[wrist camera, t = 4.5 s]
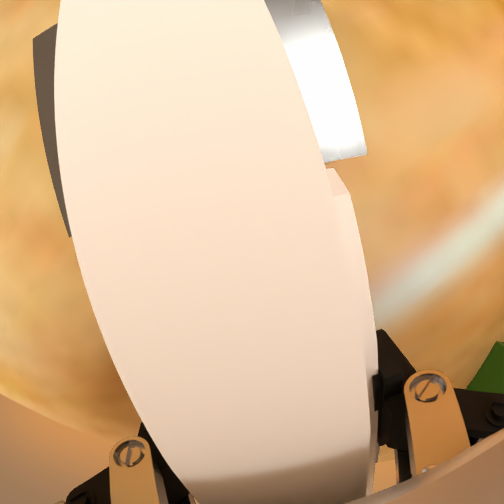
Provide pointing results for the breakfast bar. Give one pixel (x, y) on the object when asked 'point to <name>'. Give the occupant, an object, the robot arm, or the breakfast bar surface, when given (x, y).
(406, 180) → the breakfast bar surface
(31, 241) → the breakfast bar surface
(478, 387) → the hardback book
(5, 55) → the breakfast bar surface
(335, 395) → the cream elongated piece
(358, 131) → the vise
